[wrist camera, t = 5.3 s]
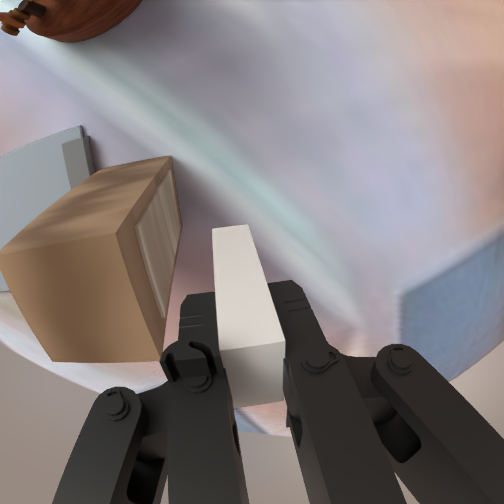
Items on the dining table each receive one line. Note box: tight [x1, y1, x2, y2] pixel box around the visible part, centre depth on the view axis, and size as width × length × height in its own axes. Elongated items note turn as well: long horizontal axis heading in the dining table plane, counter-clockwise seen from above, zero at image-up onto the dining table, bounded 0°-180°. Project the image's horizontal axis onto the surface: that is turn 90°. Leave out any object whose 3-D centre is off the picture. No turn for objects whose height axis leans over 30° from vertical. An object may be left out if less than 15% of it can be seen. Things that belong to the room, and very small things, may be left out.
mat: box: [0, 125, 95, 291], centre depth 20 cm, size 20×14×1 cm
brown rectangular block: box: [0, 155, 182, 363], centre depth 15 cm, size 6×6×14 cm
